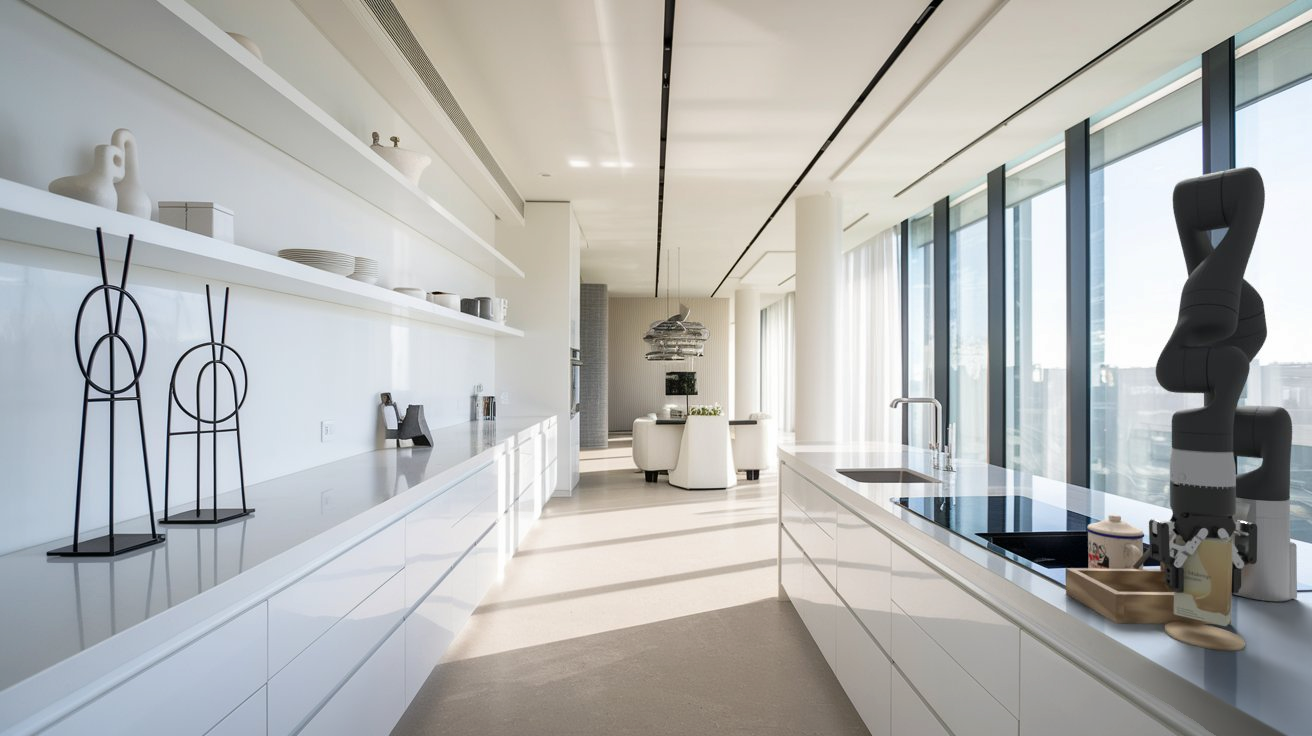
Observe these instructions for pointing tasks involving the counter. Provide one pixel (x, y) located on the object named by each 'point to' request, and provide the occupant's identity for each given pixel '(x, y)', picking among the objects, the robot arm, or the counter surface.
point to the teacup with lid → (1114, 544)
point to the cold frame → (1132, 589)
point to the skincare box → (1207, 582)
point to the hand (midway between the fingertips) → (1202, 591)
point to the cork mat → (1204, 636)
